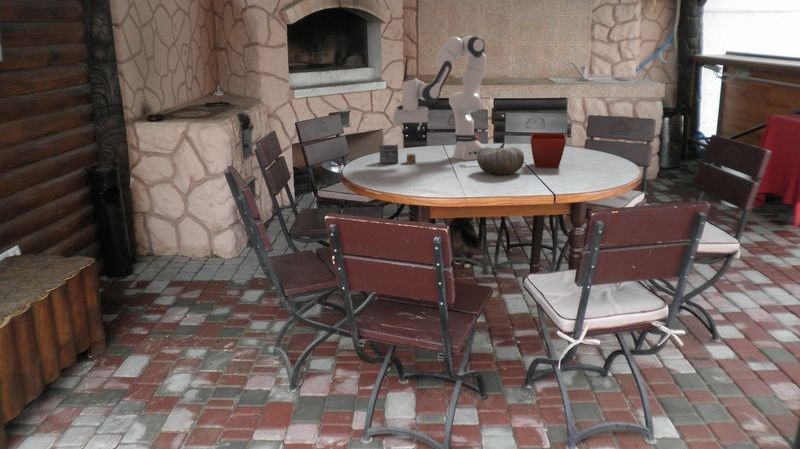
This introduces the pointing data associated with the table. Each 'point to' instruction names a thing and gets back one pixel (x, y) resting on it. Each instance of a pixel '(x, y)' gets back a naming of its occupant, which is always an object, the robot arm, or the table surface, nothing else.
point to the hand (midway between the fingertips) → (410, 130)
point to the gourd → (500, 160)
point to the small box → (388, 154)
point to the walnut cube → (411, 159)
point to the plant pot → (547, 149)
